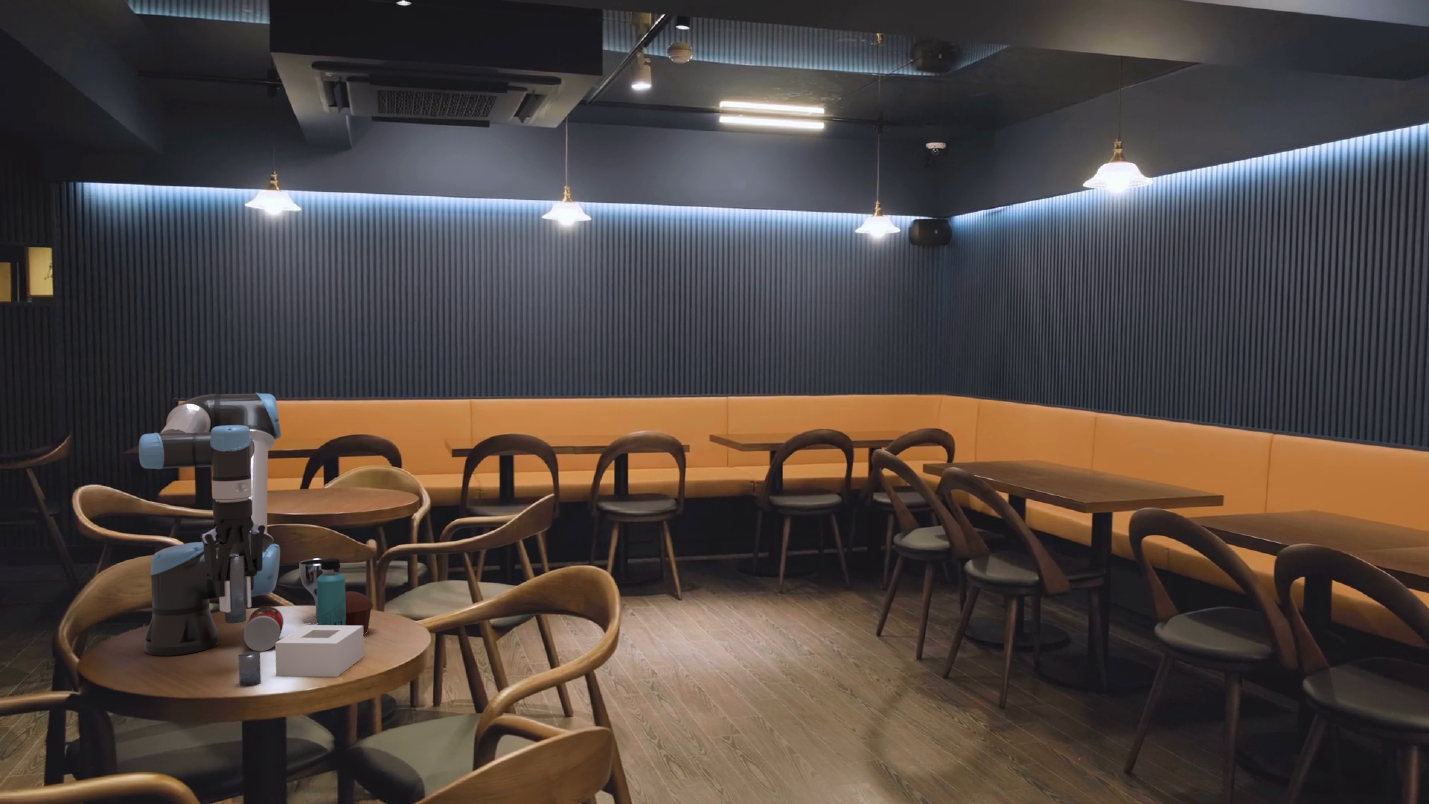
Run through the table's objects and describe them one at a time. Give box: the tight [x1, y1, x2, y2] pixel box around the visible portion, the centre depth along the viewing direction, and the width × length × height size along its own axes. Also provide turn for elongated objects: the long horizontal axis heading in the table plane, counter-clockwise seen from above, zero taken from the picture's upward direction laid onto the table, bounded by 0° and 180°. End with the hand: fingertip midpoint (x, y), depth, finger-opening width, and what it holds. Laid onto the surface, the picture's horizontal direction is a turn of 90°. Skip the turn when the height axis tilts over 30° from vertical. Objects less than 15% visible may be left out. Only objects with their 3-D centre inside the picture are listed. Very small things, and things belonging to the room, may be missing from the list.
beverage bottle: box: [317, 557, 347, 625], centre depth 236 cm, size 6×7×20 cm
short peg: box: [238, 651, 262, 688], centre depth 209 cm, size 4×4×6 cm
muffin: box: [345, 590, 374, 636], centre depth 246 cm, size 12×11×10 cm
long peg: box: [224, 554, 247, 625], centre depth 217 cm, size 4×4×14 cm
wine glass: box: [298, 557, 334, 625], centre depth 258 cm, size 8×8×15 cm
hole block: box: [274, 624, 365, 678], centre depth 220 cm, size 13×14×7 cm
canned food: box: [243, 605, 284, 652], centre depth 237 cm, size 8×8×11 cm
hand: (235, 608), depth 217 cm, fingers closed on long peg, 4 cm apart
